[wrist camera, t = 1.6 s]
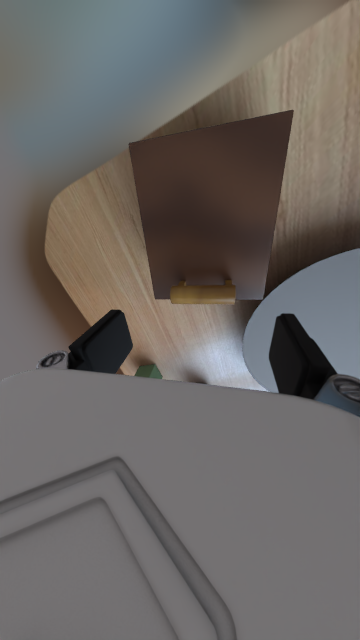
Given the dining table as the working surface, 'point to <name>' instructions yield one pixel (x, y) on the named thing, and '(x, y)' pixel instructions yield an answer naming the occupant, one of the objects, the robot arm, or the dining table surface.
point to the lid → (211, 207)
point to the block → (148, 372)
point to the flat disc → (311, 316)
